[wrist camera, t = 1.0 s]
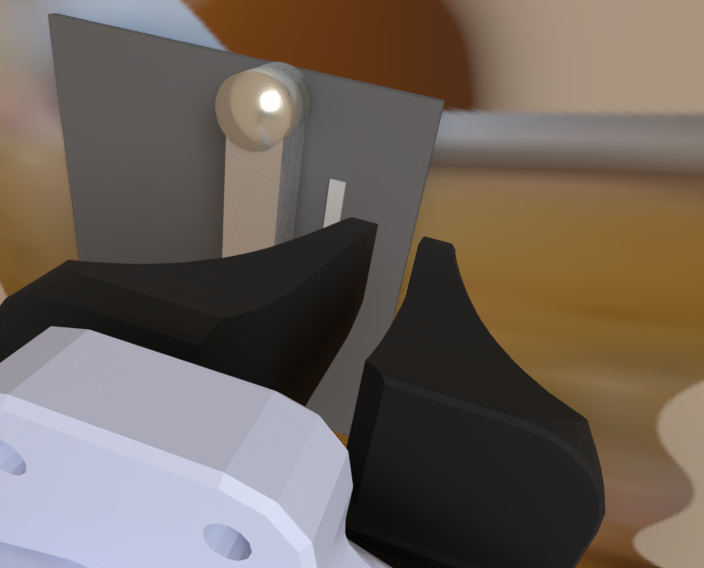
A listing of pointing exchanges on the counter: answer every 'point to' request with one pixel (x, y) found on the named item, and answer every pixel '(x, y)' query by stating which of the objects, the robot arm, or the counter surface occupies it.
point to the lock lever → (262, 154)
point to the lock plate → (209, 167)
